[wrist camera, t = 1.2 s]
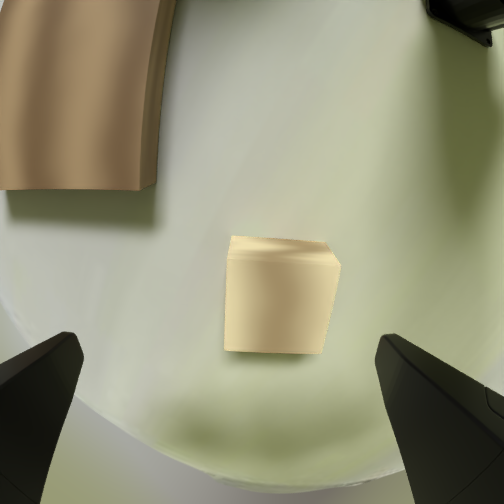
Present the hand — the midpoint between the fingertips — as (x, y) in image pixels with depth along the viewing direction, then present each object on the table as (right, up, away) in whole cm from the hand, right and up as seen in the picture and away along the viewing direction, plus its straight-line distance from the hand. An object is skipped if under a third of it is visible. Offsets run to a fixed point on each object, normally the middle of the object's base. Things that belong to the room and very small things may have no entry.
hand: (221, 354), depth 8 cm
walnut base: (-11, +15, +7) cm, 20 cm away
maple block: (+2, +1, +12) cm, 13 cm away
